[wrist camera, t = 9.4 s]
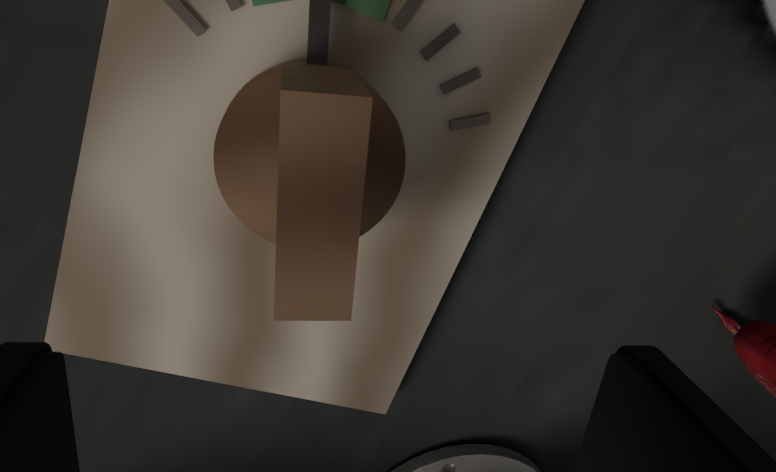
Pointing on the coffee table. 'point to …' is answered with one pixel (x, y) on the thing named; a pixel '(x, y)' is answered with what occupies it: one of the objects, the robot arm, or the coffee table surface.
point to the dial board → (237, 242)
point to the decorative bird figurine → (755, 348)
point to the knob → (310, 172)
